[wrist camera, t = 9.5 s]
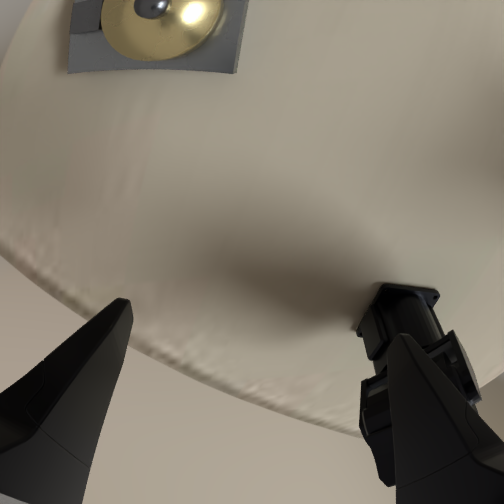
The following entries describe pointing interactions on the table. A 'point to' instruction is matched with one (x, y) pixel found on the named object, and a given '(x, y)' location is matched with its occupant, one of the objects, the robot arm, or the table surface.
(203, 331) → the table surface
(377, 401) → the robot arm
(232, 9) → the call bell
